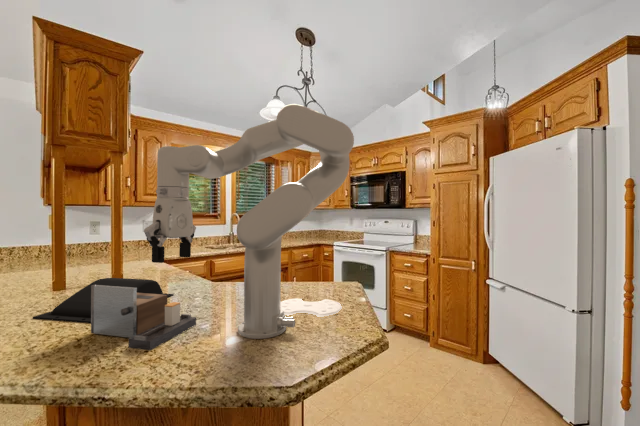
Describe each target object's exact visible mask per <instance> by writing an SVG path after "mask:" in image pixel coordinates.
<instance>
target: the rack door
mask: <svg viewBox="0 0 640 426" xmlns="http://www.w3.org/2000/svg"><path fill="white" fill-rule="evenodd" d="M136 315H137V288H133V287H119V286H104V285H91V323H90V334H97V335H104V336H105V335H106V336H112V337H113V336H114V337H123V338H128V339H129V338H131V337H133V336H136Z"/></svg>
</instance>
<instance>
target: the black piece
mask: <svg viewBox="0 0 640 426" xmlns="http://www.w3.org/2000/svg"><path fill="white" fill-rule="evenodd" d="M91 285H104V286H119V287H133V288H137V293H149V294H162V295H167V299H169V298H171V297H173V296H174V295H175V294H174V293H163V290H162V289H163V288H162V286H161V285H160V284H159V282H158V281H157V280H154V279H145V278H143V279H142V278H139V279H138V278H122V277H105V278H100V279H99V278H98V279H97V280H94V281H93V282H90V283H89V284H88V285H86V286H85V287H83V288H81V289H80V290H78V291H76V292H75V293H73V294H72V295H70V296H69V297H68V298H66V299H65V300H63V301H61V302H60V304H58V305H57V306H55V307H54V308H53V309H52V310H50V311H47V312H45V313H41V314H38V315H35V316H32V319H34V320H43V321H44V320H45V321H57V322H68V323H69V322H70V323H81V324H82V323H83V324H91Z"/></svg>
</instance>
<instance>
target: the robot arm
mask: <svg viewBox="0 0 640 426" xmlns="http://www.w3.org/2000/svg"><path fill="white" fill-rule="evenodd" d="M354 144H355V136H354V132H353V131H352V130H351V128H350V127H349V126H348V125H347V124H345V123H344V122H342V121H340V120H338V119H335V118H333V117H331V116H328V115H326V114H323V113H321V112H320V111H317V110H315V109H312V108H310V107H307V106H305V105H303V104H302V105H301V104H297V103H290V104H287V105H284V106H283V107H282V108H280V110H279V111H278V112H277V115H276V119H273V120H270V121H267V122H265V123H261V124H259V125H256V126H251V127H249V128H247V129H246V130H245V131H244V132H243V133H242V134H241V137H240V138H239V140H238V141H236V142H235V143H234V144H232V145H230V146H227V147H225V148H222V149H219V150H217V151H216V150H215V151H213V150H211V149H210V148H208V147H206V146H204V145H201V144H194V145H188V146H180V147H178V146H169V145H168V146H167V145H166V146H161V147H160V148H159V149H158V151H157V163H156V164H157V172H156V173H157V174H156V175H157V176H156V177H157V178H156V190H155V192H156V199H155V203H154V206H153V207H154V208H153V212H152V213H153V214H152V224H150V225H148V226H147V227H145V228H144V230H143V232H144V235H145V237H146V241H147V242H148V243H149V246H150V247H151V262H152V263H155V264H157V263H158V264H162V263H164V262H165V245H164V243H165V242H166V241H167V239H179V240H180V242H179V255H178V257H180V258H191V256H192V255H191V254H192V253H191V252H192V250H191V249H192V248H191V247H192V243H193V238H194V237H195V233H196V229H197V227H196V226H195V225H194V222H193V220H194V218H193V208H192V203H191V200H189V199H190V197H189V195H190V174H193V175H195V176H199V177H202V178H204V179H208V180H209V179H210V180H211V179H218V178H222V177H225V176H227V175H231V174H233V173H236V172H238V171H241V170H243V169H246V168H247V167H249V166H251V165H253V164H255V163H257V162H258V161H262V160H263V159H265V158H268V157H272V156H274V155H277V154H280V153H283V152H285V151H289V150H293V149H295V148H297V147H300V146H303V145H306V146H307V147H310V148H312V149H315V150H317V151H318V153H319V156H320V161H319V162H318V165H316V167H314V168H313V169H311V170H309V171H308V172H307V173H306V174H305V175H304V176H303V177H301V178H300V179H299V180H297V181H295V182H287V183H284V184H282V185H280V186H279V187H277V188H276V189H275V190H274V191H272V192H271V193H269V194H268V195H267V196H266V197H264V198H263V199H261V200H260V201H259V202H258V203H257V204H255V205H254V206H253V207H252V208H249V210H247V212H245V213H244V214H243V215H242V216H241V217H240V219H239V220H238V222H237V225H236V236H237V239H238V242H239V243H240V244H241V245H242V246H244V248H245V249H244V265H243V266H244V269H243V270H244V271H243V272H244V274H243V278H244V279H243V282H244V283H243V289H244V290H243V321H242V322H241V323H239V325H238V326H237V333H238V334H239V335H240V336H242V337H244V338H247V339H252V340H253V339H258V340H261V339H268V338H274V337H277V336H279V335H282V334H283V333H284V332H285V331H286V330H287V328H295V326H296V320H295V318H294V316H291V317H286V316H285V315H284V311H282V310H281V300H282V299H281V295H282V294H281V290H282V289H281V276H282V275H281V273H282V263H281V262H282V257H281V256H282V237H283V236H284V235H286V234H287V233H288V232H290V230H291V229H293V228H294V227H296V226H298V224H299V223H300V222H302V221H303V220H304V219H305V218H307V217H308V216H309V215H310V214H311V212H312V211H314V209H315V208H317V207H318V206H320V204H322V203H323V202H324V201H325V200H326V199H328V198H329V197H330V196H331V195H332V194H334V193H335V192H336V191H338V190H339V188H340V187H341V186H342V185H343V184H344V183H345V181H346V179H347V177H348V174H349V171H350V153H351V151H352V149H353V148H354ZM163 245H164V246H163Z"/></svg>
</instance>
